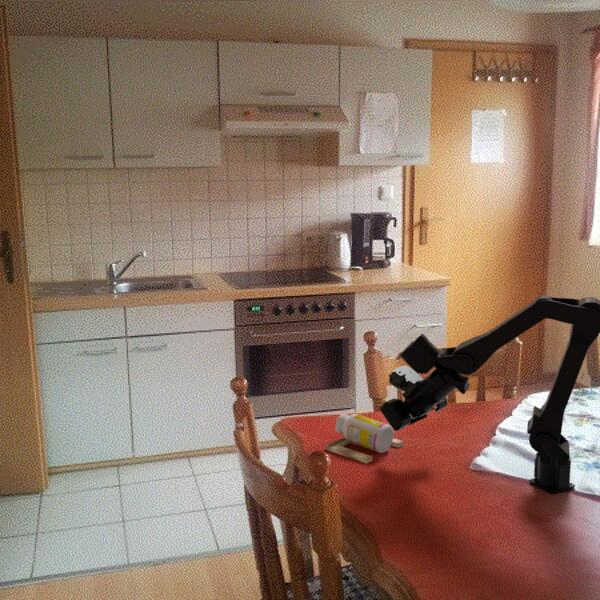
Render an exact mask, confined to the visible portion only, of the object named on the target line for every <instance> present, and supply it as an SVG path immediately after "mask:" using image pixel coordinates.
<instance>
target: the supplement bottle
mask: <svg viewBox="0 0 600 600" xmlns="http://www.w3.org/2000/svg"><path fill="white" fill-rule="evenodd" d="M334 426H335V427H334V428H335V431H336V432H337V433H338V434H340V435H343V436H344V437H345V438H346V439H347V440H348V441H350V442H353V444H355V445H358V446H361V447H363V448H365V449H366V448H367V449H368V450H371V451H374V452H376V453H380V454H384V453H386V452H387V451H388V450H389V449H390V447H392V446H391V443H392V441H393V438H394V435H395V433H394V429H393V428H392V427H391V425H390V424H387V423H385V422H382V421H379V420H375V419H373V418H369V417H367V416H364V415H363V414H362V415H361V414H360V413H359V414H358V413H353V414H351V415H349V414H346V413H341V414H339V416H338V417H337V419H336V422H335V425H334ZM344 437H343V438H344Z"/></svg>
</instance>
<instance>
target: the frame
mask: <svg viewBox="0 0 600 600" xmlns="http://www.w3.org/2000/svg"><path fill="white" fill-rule="evenodd" d="M351 444H352V442H350V441H348V440H347V439H346V438H345V437H342V438H339V439H338V440H334V441H331V442H330V443H328V444H326V445H325V446H324V448H325V450H326V451H328V452H332V453H335V454H338V455H340V456H343V457H345V458H350V459H353V460H356V461H358V462H362V463H364V464H368V463H370V462H371V463H372V462H373V456H372V455H369V454H365V453H364V452H359V451H356V450H353V449H351V448H348V447H345V446H348V445H351ZM403 446H404V441H403V440H400V439H396V438H394V437H393V441H392V443H391V446H390V447H395V448H397V449H398V448H400V447H403Z"/></svg>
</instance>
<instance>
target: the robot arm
mask: <svg viewBox="0 0 600 600" xmlns="http://www.w3.org/2000/svg"><path fill="white" fill-rule="evenodd" d="M546 319H548V320H552V321H553V320H554V321H557V322H561V323H565V324H568V325H570V330H569V338H568V341H567V343H566V344H567V345H566V347H565V349H564V353H563V355H562V356H561V360H560V363H559V364H558V365H559V366H558V368H557V371H556V374H555V376H554V378H553V382H552V385H551V387H550V390H549V392H548V395H547V397H546V401H545V402H544V403H543V405H542V406H541V407H538V406H535V405H534V406H533V409H532V415H531V417H530V419H528V421H527V425H526V427H527V428H526V434H527V435H529V437H528V442H529V445H530V447H531V448H532V449H533V450H534V451H535V452H536V454H535V455H536V457H535V458H534V468H533V469H534V471H533V472H534V473H533V477H534V478H530V479H528V483H530V484H532V485H534V486H535V487H538V488H539V489H542V490H543V491H545V492H548V493H549V494H552V495H553V494H557V493H558V494H559V493H561V492H564V491H569V490H571V489H570V488H572V487H576V484H574V483H571V482H570V480H571V469H572V468H571V467H572V466H571V465H572V460H571V459H570V458H571V455H570V453H571V452H570V442H569V440H567V438H566V437H565V436H564V435H563V434H562V431H563V423H564V415H565V411H566V408H567V406H568V403H569V401H570V398H571V395H572V393H573V391H574V387H575V386H576V385H575V384H576V382H577V380H578V376H579V374H580V372H581V369H582V367H583V363H584V361H585V358H586V356H587V353H588V351H589V349H590V347H591V346H592V345H593V344H594V342H595V341H596V340H597V338H598V337H599V336H600V299H599V298H596V297H593V296H586V297H582V298H580V299H579V298H578V299H576V298H571V297H559V296H558V297H556V296H555V297H554V296H549V295H546V294H545V295H544V294H543V295H538V296H537V297H536V298H535V300H533V301H532V302H531V303H528V304H527V305H526V306H525V307H523V308H522V309H520V310H518V311H517V312H516V313H515V314H513V315H510V317H508V318H507V319H505V320H504V321H502V322H501V323H500V324H498V325H496V326H495V327H493V328H491V330H489V331H487V332H485V333H482V334H480V335H477V336H474V337H471V338H469V339H467V340H465V341H463V342H460V343H459V344H458V345H457V346H454V347H453V346H452V347H443V348H441V349H438V348H437V347H436V346H435V345H434V344H433V343H432V342H431V341H430V340H429V338H428V337H427V336H426V335H425V334H424V333H421V334H420V335H419V336H418V337H417V338H415V339H414V341H411V342H409V344H408V345H407V346H406V347H405V348H404V349H403V350H402V351H401V352H400V354H399V355H398V357H400V359H402V361H404V363H406V364H407V365H408V366H407V365H402V366H399V367H396V368H394V370H392V372H391V373H389V374H388V378H389V379H388V383H389V384H391V386H393V387H394V388H396V389H400V390H401V391H403V393H401V395H402V397H403V398H404V401H403V400H402V398H400V399H399V398H392V399H389V400H387V401H385V402H383V403H382V404H381V405H380V406H379V411H380V412H381V413H382V415H383V416H384V418H385V419H386V421H387V423H389V424H388V425H390V426H391V427H392V428H393V431H395V432H399V431H400V430H402V429H405V428H406V427H407V426H411V425H413V424H416V423H417V422H419V421H423V420H424V419H427V418H428V414H430V413H431V412H433V411H434V412H435V413H439V412H441V411H442V410H444V409H445V408H446V407H448V399H447V397H448V395H450V394H451V393H452V392H453V391H454V390H458V391H459V392H460V394H462V395H465V394H466V393H467V392H468V390H469V388H470V387H471V386H470V378H469V376H471V375H472V374H474V373H475V372H478V370H479V369H480V368H481V367H482V366H484V364H485V363H487V361H488V360H490V358H491V357H492V356H493V355H494V354H495V353H496V352H497V351H498V350H500V349H501V348H502V347H504V346H505V345H507V344H509V343H510V342H512V341H513V340H515V339H516V338H518V337H519V336H521V335H522V334H524V333H525V332H527V331H528V330H531V328H533V327H534V326H536V325H537V324H539V323H541V322H542V321H543V320H546ZM433 368H434V370H433ZM431 370H433V371H432V372H430V371H431ZM429 372H430V373H429ZM428 373H429V374H428ZM420 374H421V375H427V374H428V375H427V376H426V377H425V378H423V377H422V376H421V375H420ZM435 407H436V408H435ZM572 485H573V486H572ZM572 489H573V488H572Z"/></svg>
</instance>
